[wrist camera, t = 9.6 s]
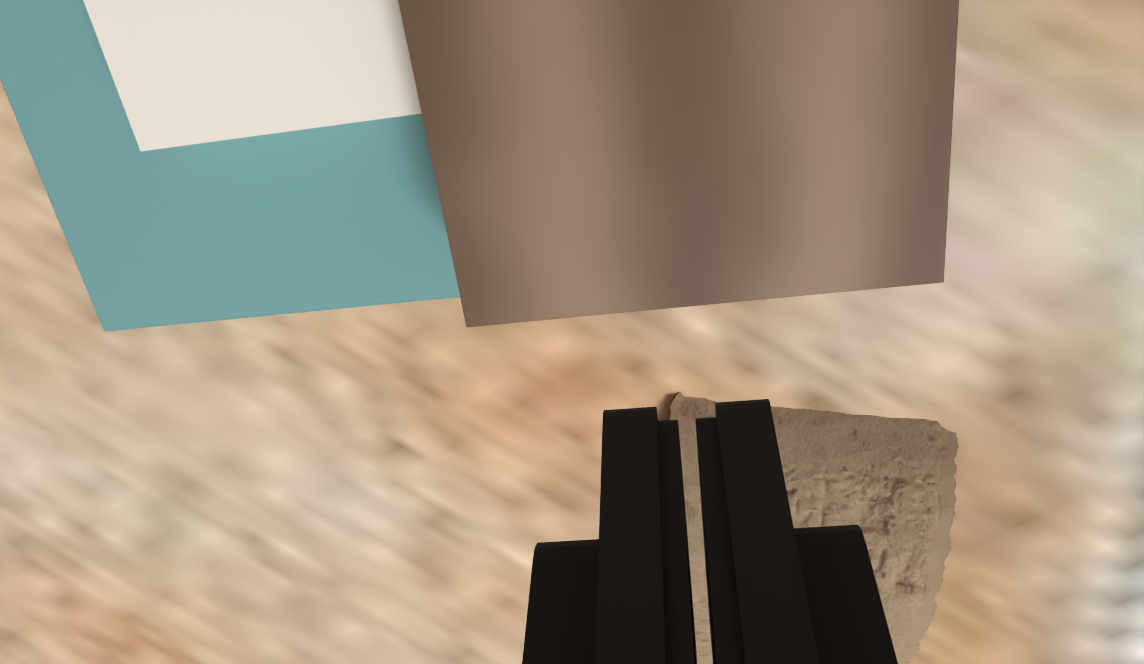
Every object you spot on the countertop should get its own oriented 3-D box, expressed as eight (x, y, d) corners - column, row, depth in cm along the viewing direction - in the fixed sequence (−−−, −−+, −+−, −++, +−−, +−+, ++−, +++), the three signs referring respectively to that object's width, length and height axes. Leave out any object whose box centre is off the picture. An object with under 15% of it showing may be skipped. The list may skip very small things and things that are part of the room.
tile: (386, -142, 28) (371, -128, 26) (437, 87, 31) (426, 112, 29) (87, -93, 28) (53, -77, 27) (166, 124, 32) (140, 151, 30)
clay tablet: (667, 370, 37) (670, 418, 34) (969, 387, 37) (993, 437, 34) (633, 668, 44) (635, 724, 42) (884, 682, 44) (899, 738, 42)
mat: (333, -389, 25) (329, -389, 25) (471, 289, 34) (469, 296, 34) (-151, -311, 26) (-161, -311, 26) (109, 324, 36) (104, 331, 35)
